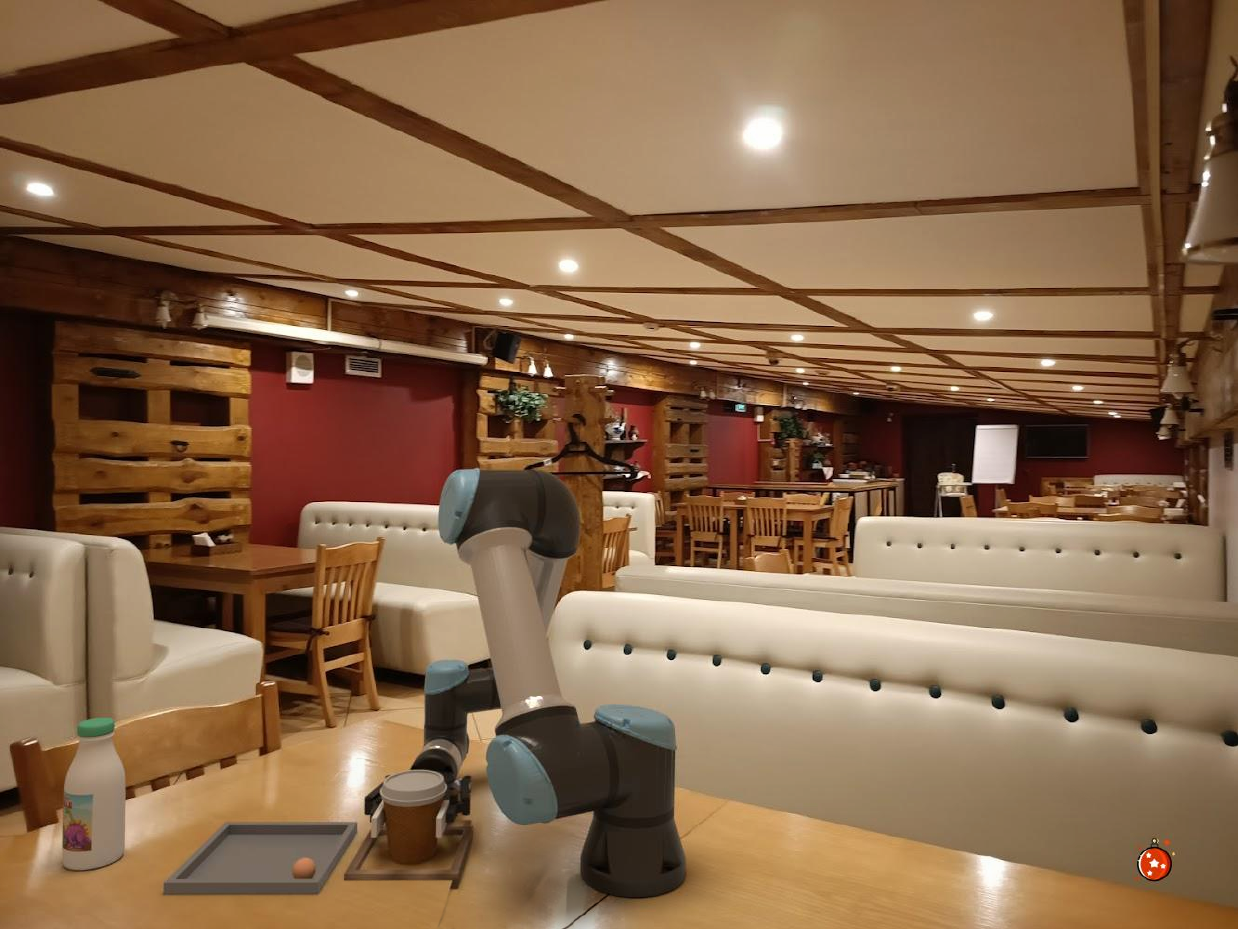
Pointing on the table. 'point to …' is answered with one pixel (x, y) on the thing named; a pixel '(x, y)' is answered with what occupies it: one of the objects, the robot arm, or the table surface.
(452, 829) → the frame
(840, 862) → the table surface
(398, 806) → the disposable coffee cup
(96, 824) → the milk bottle
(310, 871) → the ball
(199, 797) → the table surface
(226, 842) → the tray
